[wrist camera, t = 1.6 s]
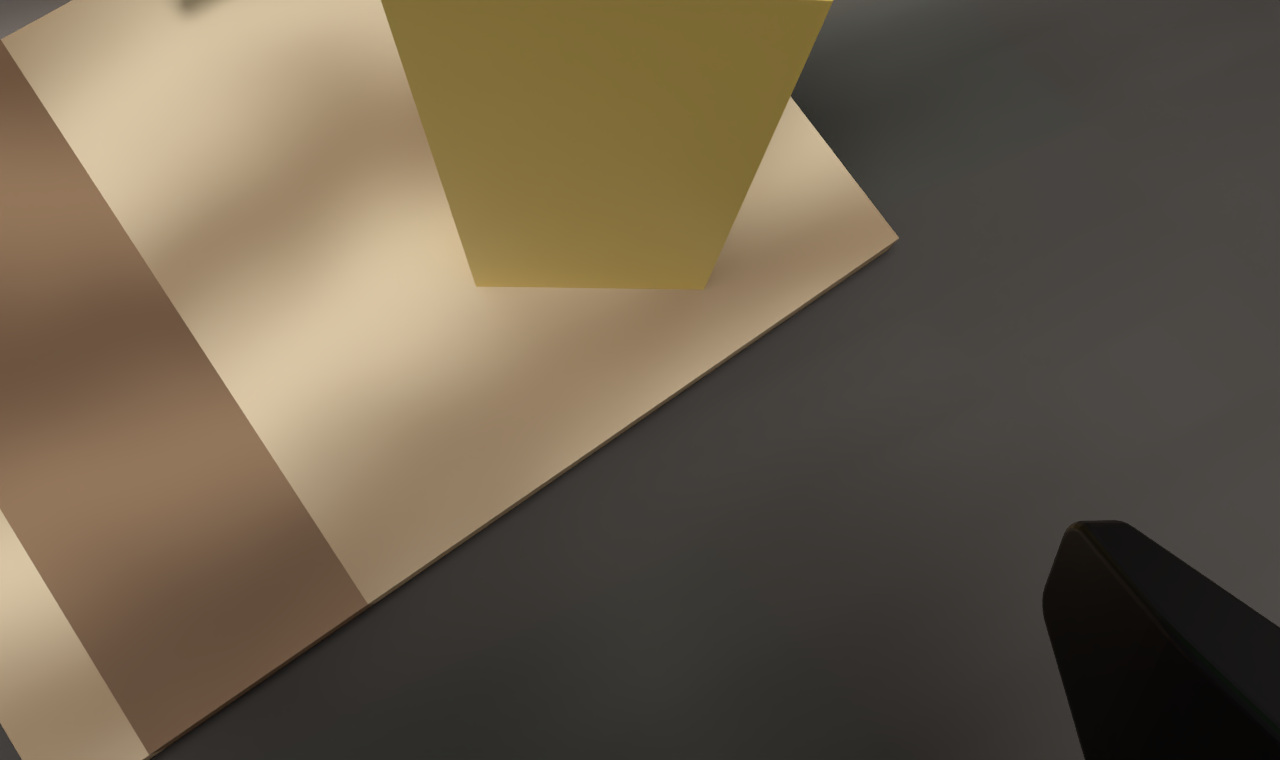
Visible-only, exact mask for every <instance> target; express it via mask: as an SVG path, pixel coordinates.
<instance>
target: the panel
mask: <svg viewBox="0 0 1280 760" xmlns="http://www.w3.org/2000/svg"><path fill="white" fill-rule="evenodd" d="M898 239H899V237H898V236H897V235H896V234H895V232H894V231H893V230H892V228H891V227H890V226H889V224H888V223H887V222H886V221H885V219H884V218H883V217H882V215H881V214H880V213H879V211H878V210H877V209H876V207H875V206H874V205H873V204H872V202H871V201H870V200H869V198H868V197H867V196H866V194H865V193H864V192H863V190H862V189H861V188H860V187H859V185H858V184H857V183H856V181H855V180H854V179H853V177H852V176H851V175H850V174H849V172H848V171H847V170H846V168H845V167H844V166H843V164H842V163H841V162H840V160H839V159H838V158H837V157H836V155H835V154H834V153H833V151H832V150H831V149H830V147H829V146H828V145H827V143H826V142H825V141H824V140H823V138H822V137H821V136H820V134H819V133H818V132H817V130H816V129H815V128H814V126H813V125H812V124H811V123H810V121H809V120H808V119H807V117H806V116H805V115H804V113H803V112H802V111H801V110H800V108H799V107H798V106H797V104H796V103H795V102H794V100H793V99H792V98H791V96H790V98H789V101H788V103H787V105H786V107H785V110H784V112H783V114H782V116H781V118H780V121H779V123H778V125H777V127H776V130H775V132H774V134H773V136H772V139H771V141H770V143H769V145H768V148H767V150H766V152H765V154H764V157H763V159H762V161H761V163H760V165H759V168H758V170H757V172H756V174H755V177H754V179H753V181H752V183H751V186H750V188H749V190H748V192H747V195H746V197H745V199H744V201H743V203H742V206H741V208H740V210H739V212H738V215H737V217H736V219H735V221H734V224H733V226H732V228H731V230H730V233H729V235H728V237H727V239H726V241H725V244H724V246H723V248H722V250H721V253H720V255H719V257H718V259H717V262H716V264H715V266H714V268H713V271H712V273H711V275H710V277H709V279H708V282H707V284H706V286H705V288H704V290H688V289H616V288H545V287H476V285H475V282H474V279H473V276H472V273H471V270H470V267H469V264H468V261H467V258H466V255H465V252H464V249H463V246H462V243H461V240H460V237H459V234H458V231H457V228H456V225H455V222H454V219H453V216H452V213H451V210H450V207H449V204H448V201H447V198H446V195H445V192H444V189H443V186H442V183H441V180H440V177H439V174H438V171H437V168H436V165H435V162H434V159H433V156H432V153H431V150H430V147H429V144H428V141H427V138H426V135H425V132H424V129H423V126H422V123H421V120H420V117H419V114H418V111H417V108H416V105H415V102H414V99H413V96H412V93H411V90H410V87H409V84H408V81H407V78H406V75H405V72H404V69H403V65H402V62H401V59H400V56H399V53H398V50H397V47H396V44H395V41H394V38H393V35H392V32H391V29H390V26H389V23H388V20H387V17H386V14H385V11H384V8H383V5H382V2H381V0H72V1H70V2H69V3H67V4H65V5H63V6H61V7H59V8H58V9H56V10H54V11H52V12H50V13H49V14H47V15H45V16H43V17H41V18H39V19H38V20H36V21H34V22H32V23H30V24H28V25H27V26H25V27H23V28H21V29H19V30H18V31H16V32H14V33H12V34H10V35H8V36H7V37H5V38H3V39H1V40H0V723H1V725H2V727H3V728H4V730H5V732H6V733H7V735H8V737H9V739H10V740H11V742H12V744H13V745H14V747H15V749H16V750H17V752H18V754H19V756H20V757H21V759H22V760H149V759H151V758H152V757H154V756H155V755H156V754H158V753H159V752H161V751H162V750H164V749H165V748H167V747H168V746H169V745H171V744H172V743H174V742H175V741H177V740H178V739H180V738H181V737H183V736H184V735H185V734H187V733H188V732H190V731H191V730H193V729H194V728H196V727H197V726H198V725H200V724H201V723H203V722H204V721H206V720H207V719H209V718H210V717H212V716H213V715H214V714H216V713H217V712H219V711H220V710H222V709H223V708H225V707H226V706H227V705H229V704H230V703H232V702H233V701H235V700H236V699H238V698H239V697H241V696H242V695H243V694H245V693H246V692H248V691H249V690H251V689H252V688H254V687H255V686H256V685H258V684H259V683H261V682H262V681H264V680H265V679H267V678H268V677H270V676H271V675H272V674H274V673H275V672H277V671H278V670H280V669H281V668H283V667H284V666H285V665H287V664H288V663H290V662H291V661H293V660H294V659H296V658H297V657H298V656H300V655H301V654H303V653H304V652H306V651H307V650H309V649H310V648H312V647H313V646H314V645H316V644H317V643H319V642H320V641H322V640H323V639H325V638H326V637H327V636H329V635H330V634H332V633H333V632H335V631H336V630H338V629H339V628H341V627H342V626H343V625H345V624H346V623H348V622H349V621H351V620H352V619H354V618H355V617H356V616H358V615H359V614H361V613H362V612H364V611H365V610H367V609H368V608H370V607H371V606H372V605H374V604H375V603H377V602H378V601H380V600H381V599H383V598H384V597H385V596H387V595H388V594H390V593H391V592H393V591H394V590H396V589H397V588H399V587H400V586H401V585H403V584H404V583H406V582H407V581H409V580H410V579H412V578H413V577H414V576H416V575H417V574H419V573H420V572H422V571H423V570H425V569H426V568H427V567H429V566H430V565H432V564H433V563H435V562H436V561H438V560H439V559H441V558H442V557H443V556H445V555H446V554H448V553H449V552H451V551H452V550H454V549H455V548H456V547H458V546H459V545H461V544H462V543H464V542H465V541H467V540H468V539H470V538H471V537H472V536H474V535H475V534H477V533H478V532H480V531H481V530H483V529H484V528H485V527H487V526H488V525H490V524H491V523H493V522H494V521H496V520H497V519H499V518H500V517H501V516H503V515H504V514H506V513H507V512H509V511H510V510H512V509H513V508H514V507H516V506H517V505H519V504H520V503H522V502H523V501H525V500H526V499H528V498H529V497H530V496H532V495H533V494H535V493H536V492H538V491H539V490H541V489H542V488H543V487H545V486H546V485H548V484H549V483H551V482H552V481H554V480H555V479H556V478H558V477H559V476H561V475H562V474H564V473H565V472H567V471H568V470H570V469H571V468H572V467H574V466H575V465H577V464H578V463H580V462H581V461H583V460H584V459H585V458H587V457H588V456H590V455H591V454H593V453H594V452H596V451H597V450H599V449H600V448H601V447H603V446H604V445H606V444H607V443H609V442H610V441H612V440H613V439H614V438H616V437H617V436H619V435H620V434H622V433H623V432H625V431H626V430H628V429H629V428H630V427H632V426H633V425H635V424H636V423H638V422H639V421H641V420H642V419H643V418H645V417H646V416H648V415H649V414H651V413H652V412H654V411H655V410H657V409H658V408H659V407H661V406H662V405H664V404H665V403H667V402H668V401H670V400H671V399H672V398H674V397H675V396H677V395H678V394H680V393H681V392H683V391H684V390H686V389H687V388H688V387H690V386H691V385H693V384H694V383H696V382H697V381H699V380H700V379H701V378H703V377H704V376H706V375H707V374H709V373H710V372H712V371H713V370H714V369H716V368H717V367H719V366H720V365H722V364H723V363H725V362H726V361H728V360H729V359H730V358H732V357H733V356H735V355H736V354H738V353H739V352H741V351H742V350H743V349H745V348H746V347H748V346H749V345H751V344H752V343H754V342H755V341H757V340H758V339H759V338H761V337H762V336H764V335H765V334H767V333H768V332H770V331H771V330H772V329H774V328H775V327H777V326H778V325H780V324H781V323H783V322H784V321H786V320H787V319H788V318H790V317H791V316H793V315H794V314H796V313H797V312H799V311H800V310H801V309H803V308H804V307H806V306H807V305H809V304H810V303H812V302H813V301H815V300H816V299H817V298H819V297H820V296H822V295H823V294H825V293H826V292H828V291H829V290H830V289H832V288H833V287H835V286H836V285H838V284H839V283H841V282H842V281H843V280H845V279H846V278H848V277H849V276H851V275H852V274H854V273H855V272H857V271H858V270H859V269H861V268H862V267H864V266H865V265H867V264H868V263H870V262H871V261H872V260H874V259H875V258H877V257H878V256H880V255H881V254H883V253H884V252H886V251H887V250H888V249H889V248H890V247H891V246H892V245H893V244H894V243H895V242H896V241H897V240H898Z"/></svg>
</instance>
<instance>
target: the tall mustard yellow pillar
mask: <svg viewBox="0 0 1280 760" xmlns="http://www.w3.org/2000/svg"><path fill="white" fill-rule="evenodd" d="M381 2H382V5H383V8H384V11H385V14H386V17H387V20H388V23H389V26H390V29H391V32H392V35H393V38H394V41H395V44H396V47H397V50H398V53H399V56H400V59H401V62H402V65H403V69H404V72H405V75H406V78H407V81H408V84H409V87H410V90H411V93H412V96H413V99H414V102H415V105H416V108H417V111H418V114H419V117H420V120H421V123H422V126H423V129H424V132H425V135H426V138H427V141H428V144H429V147H430V150H431V153H432V156H433V159H434V162H435V165H436V168H437V171H438V174H439V177H440V180H441V183H442V186H443V189H444V192H445V195H446V198H447V201H448V204H449V207H450V210H451V213H452V216H453V219H454V222H455V225H456V228H457V231H458V234H459V237H460V240H461V243H462V246H463V249H464V252H465V255H466V258H467V261H468V264H469V267H470V270H471V273H472V276H473V279H474V282H475V285H476V287H545V288H616V289H688V290H704V288H705V286H706V284H707V282H708V279H709V277H710V275H711V273H712V271H713V268H714V266H715V264H716V262H717V259H718V257H719V255H720V253H721V250H722V248H723V246H724V244H725V241H726V239H727V237H728V235H729V233H730V230H731V228H732V226H733V224H734V221H735V219H736V217H737V215H738V212H739V210H740V208H741V206H742V203H743V201H744V199H745V197H746V195H747V192H748V190H749V188H750V186H751V183H752V181H753V179H754V177H755V174H756V172H757V170H758V168H759V165H760V163H761V161H762V159H763V157H764V154H765V152H766V150H767V148H768V145H769V143H770V141H771V139H772V136H773V134H774V132H775V130H776V127H777V125H778V123H779V121H780V118H781V116H782V114H783V112H784V110H785V107H786V105H787V103H788V101H789V98H790V96H791V94H792V92H793V89H794V87H795V85H796V83H797V80H798V78H799V76H800V74H801V72H802V69H803V67H804V65H805V63H806V60H807V58H808V56H809V54H810V51H811V49H812V47H813V45H814V42H815V40H816V38H817V36H818V34H819V31H820V29H821V27H822V25H823V22H824V20H825V18H826V16H827V13H828V11H829V9H830V7H831V4H832V2H833V0H381Z"/></svg>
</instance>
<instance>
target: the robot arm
mask: <svg viewBox="0 0 1280 760" xmlns="http://www.w3.org/2000/svg"><path fill="white" fill-rule="evenodd" d="M1042 602H1043V615H1044V620H1045V624H1046V627H1047V631H1048V634H1049V637H1050V641H1051V644H1052V648H1053V651H1054V655H1055V658H1056V662H1057V665H1058V669H1059V672H1060V675H1061V679H1062V682H1063V686H1064V689H1065V693H1066V696H1067V700H1068V703H1069V706H1070V710H1071V713H1072V717H1073V720H1074V724H1075V727H1076V731H1077V734H1078V738H1079V741H1080V744H1081V748H1082V751H1083V755H1084V758H1085V760H1280V627H1278V626H1277V625H1275V624H1274V623H1272V622H1271V621H1269V620H1268V619H1267V618H1265V617H1264V616H1262V615H1261V614H1259V613H1258V612H1256V611H1255V610H1253V609H1252V608H1251V607H1249V606H1248V605H1246V604H1245V603H1243V602H1242V601H1240V600H1239V599H1237V598H1236V597H1234V596H1233V595H1232V594H1230V593H1229V592H1227V591H1226V590H1224V589H1223V588H1221V587H1220V586H1218V585H1217V584H1216V583H1214V582H1213V581H1211V580H1210V579H1208V578H1207V577H1205V576H1204V575H1202V574H1201V573H1200V572H1198V571H1197V570H1195V569H1194V568H1192V567H1191V566H1189V565H1188V564H1186V563H1185V562H1183V561H1182V560H1181V559H1179V558H1178V557H1176V556H1175V555H1173V554H1172V553H1170V552H1169V551H1167V550H1166V549H1165V548H1163V547H1162V546H1160V545H1159V544H1157V543H1156V542H1154V541H1153V540H1151V539H1150V538H1148V537H1147V536H1146V535H1144V534H1143V533H1141V532H1140V531H1138V530H1137V529H1135V528H1134V527H1132V526H1131V525H1129V524H1127V523H1125V522H1122V521H1116V520H1103V521H1078V522H1075V523H1073V524H1072V525H1070V526H1069V527H1068V528H1067V529H1066V531H1065V533H1064V536H1063V538H1062V541H1061V544H1060V546H1059V549H1058V552H1057V555H1056V557H1055V560H1054V563H1053V566H1052V568H1051V571H1050V574H1049V577H1048V580H1047V582H1046V585H1045V588H1044V592H1043V600H1042Z"/></svg>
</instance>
